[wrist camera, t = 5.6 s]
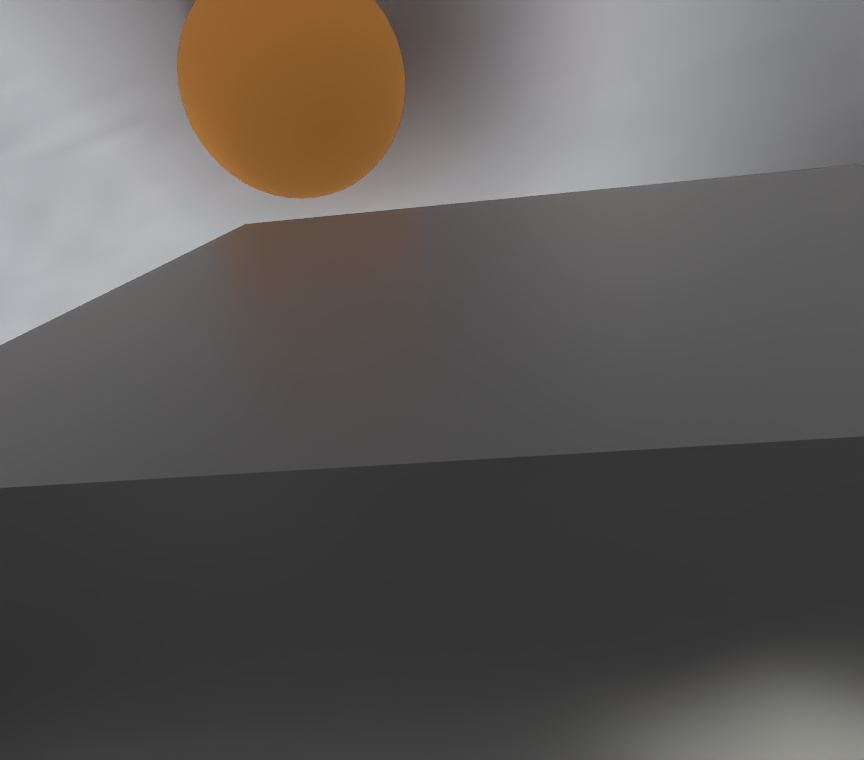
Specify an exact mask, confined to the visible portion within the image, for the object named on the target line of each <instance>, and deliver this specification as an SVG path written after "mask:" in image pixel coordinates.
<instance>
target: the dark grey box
mask: <svg viewBox="0 0 864 760" xmlns="http://www.w3.org/2000/svg"><path fill="white" fill-rule="evenodd" d="M0 760H864V166H860V165H846V166H835V167H825V168H815V169H805V170H795V171H784V172H774V173H764V174H754V175H743V176H733V177H723V178H713V179H703V180H692V181H682V182H672V183H662V184H652V185H641V186H631V187H621V188H611V189H600V190H590V191H580V192H570V193H560V194H549V195H539V196H529V197H519V198H508V199H498V200H488V201H478V202H468V203H457V204H447V205H437V206H427V207H416V208H406V209H396V210H386V211H376V212H365V213H355V214H345V215H335V216H324V217H314V218H304V219H294V220H284V221H273V222H263V223H253V224H245V225H243V226H241V227H239V228H237V229H235V230H233V231H231V232H229V233H227V234H225V235H223V236H221V237H219V238H217V239H215V240H212V241H210V242H208V243H206V244H204V245H202V246H200V247H198V248H196V249H194V250H192V251H190V252H188V253H186V254H184V255H182V256H180V257H178V258H176V259H174V260H172V261H170V262H168V263H166V264H164V265H162V266H160V267H158V268H156V269H154V270H152V271H150V272H148V273H146V274H144V275H142V276H140V277H138V278H136V279H134V280H132V281H130V282H128V283H126V284H124V285H122V286H120V287H117V288H115V289H113V290H111V291H109V292H107V293H105V294H103V295H101V296H99V297H97V298H95V299H93V300H91V301H89V302H87V303H85V304H83V305H81V306H79V307H77V308H75V309H73V310H71V311H69V312H67V313H65V314H63V315H61V316H59V317H57V318H55V319H53V320H51V321H49V322H47V323H45V324H43V325H41V326H39V327H37V328H35V329H33V330H31V331H29V332H27V333H24V334H22V335H20V336H18V337H16V338H14V339H12V340H10V341H8V342H6V343H4V344H2V345H0Z"/></svg>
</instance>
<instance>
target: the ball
mask: <svg viewBox="0 0 864 760" xmlns="http://www.w3.org/2000/svg"><path fill="white" fill-rule="evenodd" d="M177 71H178V82H179V88H180V93H181V98H182V102H183V105H184V108H185V111H186V114H187V116H188V119H189V121H190V123H191V125H192V128H193V129H194V131H195V133H196V134H197V136H198V138H199V139H200V141H201V142H202V144H203V145H204V146H205V148H206V149H207V150H208V152H209V153H210V154H211V155H212V156H213V157H214V158H215V159H216V161H217V162H218V163H219V164H220V165H221V166H222V167H224V168H225V169H226V170H227V171H228V172H230V173H231V174H232V175H233V176H235V177H236V178H238V179H239V180H241V181H242V182H244V183H246V184H248V185H250V186H252V187H254V188H256V189H258V190H261V191H264V192H267V193H270V194H273V195H278V196H283V197H288V198H313V197H319V196H324V195H328V194H332V193H335V192H337V191H340V190H343V189H345V188H347V187H349V186H350V185H352V184H354V183H356V182H357V181H358V180H360V179H361V178H363V177H364V176H365V175H367V174H368V173H369V172H370V171H371V170H372V169H373V168H374V167H375V166H376V165H377V163H378V162H379V161H380V160H381V158H382V157H383V156H384V154H385V153H386V152H387V150H388V148H389V146H390V145H391V143H392V141H393V139H394V137H395V135H396V132H397V130H398V128H399V124H400V121H401V117H402V114H403V108H404V101H405V71H404V64H403V59H402V54H401V50H400V47H399V44H398V41H397V38H396V36H395V33H394V31H393V29H392V27H391V25H390V23H389V21H388V19H387V17H386V16H385V14H384V12H383V11H382V9H381V8H380V6H379V5H378V4H377V2H376V1H375V0H196V1H195V3H194V5H193V6H192V8H191V10H190V12H189V14H188V16H187V19H186V21H185V23H184V27H183V30H182V34H181V37H180V43H179V49H178V64H177Z"/></svg>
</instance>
